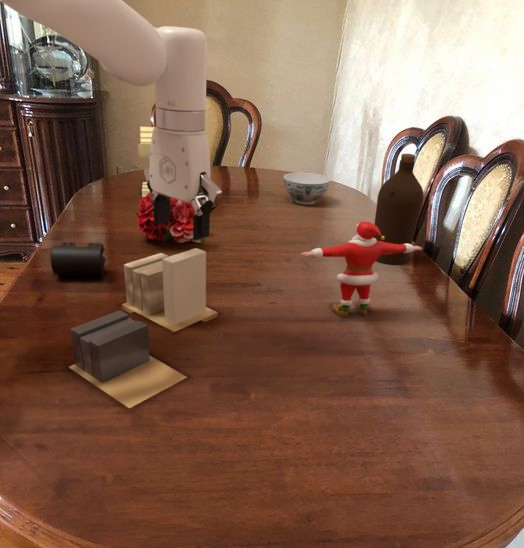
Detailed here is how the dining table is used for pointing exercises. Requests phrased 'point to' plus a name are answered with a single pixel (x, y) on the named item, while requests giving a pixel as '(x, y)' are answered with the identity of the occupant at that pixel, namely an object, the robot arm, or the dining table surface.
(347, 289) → the santa figurine
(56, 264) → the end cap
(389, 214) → the olive oil
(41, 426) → the dining table surface
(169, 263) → the cream book
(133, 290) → the cream book stand
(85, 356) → the grey book stand
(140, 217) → the carnation
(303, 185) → the chinaware
